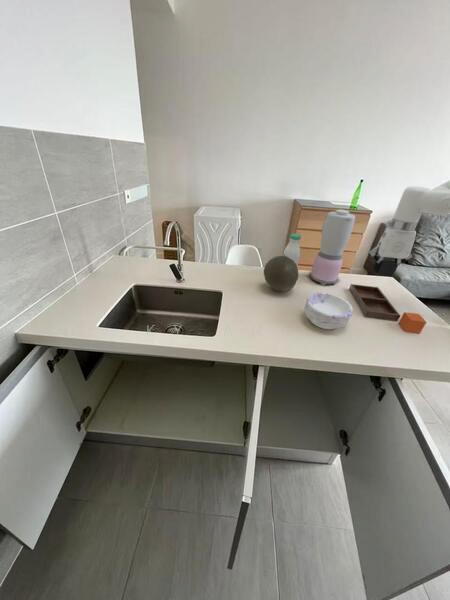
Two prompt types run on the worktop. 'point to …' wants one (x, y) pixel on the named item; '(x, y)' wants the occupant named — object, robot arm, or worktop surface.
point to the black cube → (387, 267)
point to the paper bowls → (328, 310)
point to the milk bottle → (293, 248)
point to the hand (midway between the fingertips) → (382, 271)
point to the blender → (332, 246)
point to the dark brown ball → (281, 273)
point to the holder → (373, 302)
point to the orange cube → (412, 322)
